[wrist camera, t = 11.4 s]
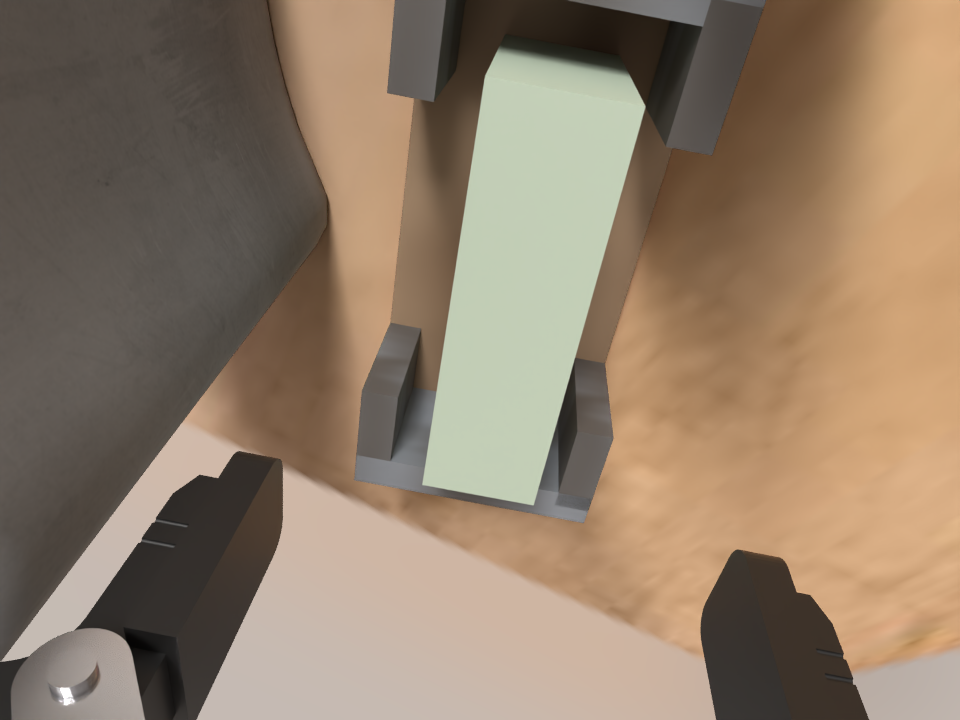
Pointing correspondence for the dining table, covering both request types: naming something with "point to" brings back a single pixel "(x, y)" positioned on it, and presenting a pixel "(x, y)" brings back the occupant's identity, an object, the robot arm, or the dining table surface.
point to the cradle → (443, 190)
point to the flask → (128, 249)
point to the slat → (528, 260)
